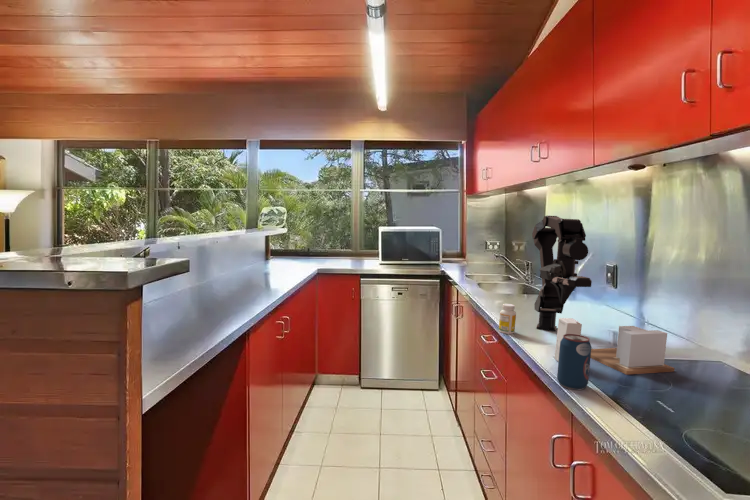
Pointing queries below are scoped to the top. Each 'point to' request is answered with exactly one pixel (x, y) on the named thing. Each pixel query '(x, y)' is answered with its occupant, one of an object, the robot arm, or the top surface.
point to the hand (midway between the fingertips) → (562, 303)
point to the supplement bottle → (507, 319)
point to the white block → (640, 346)
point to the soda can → (574, 361)
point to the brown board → (610, 359)
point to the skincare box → (566, 331)
